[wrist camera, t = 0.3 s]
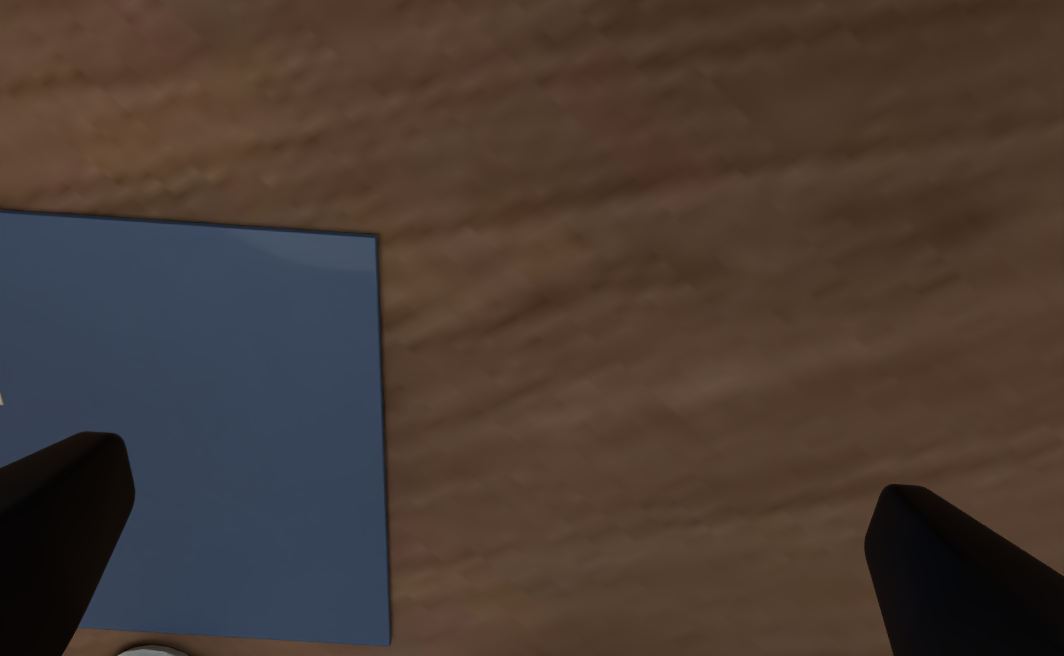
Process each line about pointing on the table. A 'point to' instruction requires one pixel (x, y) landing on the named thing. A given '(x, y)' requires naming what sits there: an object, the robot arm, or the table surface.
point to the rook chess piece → (152, 651)
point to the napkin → (211, 414)
